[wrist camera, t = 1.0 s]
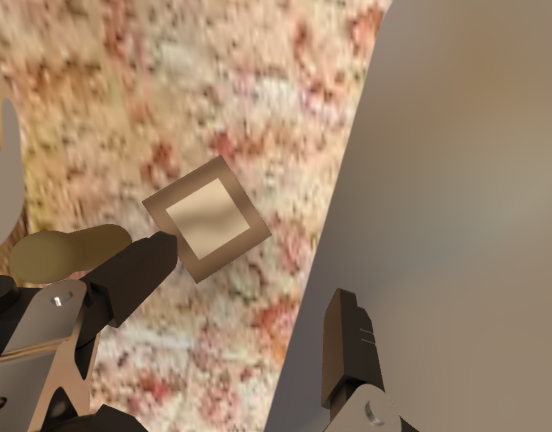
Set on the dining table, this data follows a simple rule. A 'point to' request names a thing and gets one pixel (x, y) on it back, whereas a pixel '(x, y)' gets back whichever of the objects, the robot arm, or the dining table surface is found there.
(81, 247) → the brown wooden pawn
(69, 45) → the dining table surface
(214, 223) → the dock board
